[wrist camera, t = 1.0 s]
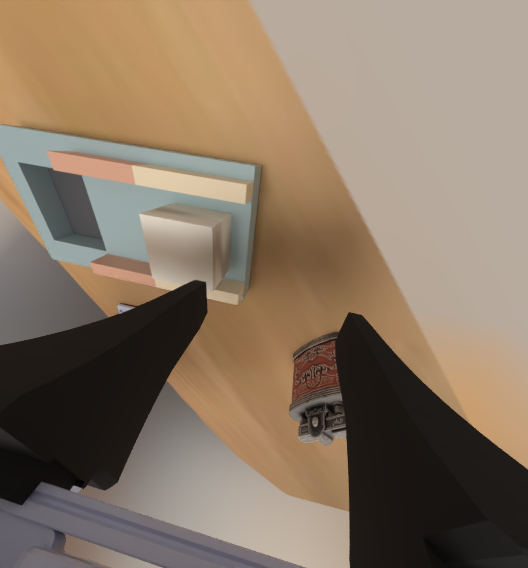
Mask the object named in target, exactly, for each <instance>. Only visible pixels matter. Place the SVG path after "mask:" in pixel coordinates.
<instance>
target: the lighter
mask: <svg viewBox="0 0 528 568" xmlns="http://www.w3.org/2000/svg"><path fill="white" fill-rule="evenodd" d="M338 334H339V332H333V333H330V334H327V335H324V336H321V337H319V338H317V339H314V340H312V341H310V342H309V343H307V344H305V345H304V346H302V347H301V348H299V349H298V350H297V351H296V352H295V353H294V354H293V363H294V374H293V390H292V403H291V404H290V410H289V415H290V417H291V418H292V419H294V420H296V421H298V422H300V426H299V437H298V438H299V439H300V440H301V441H303V442H306V443H308V442H313V441H319V442H321V443H322V444H324V445H330V444H331V443H332V442H333V438H334V437H337V438H342V437H346V424H345V414H344V407H343V401H342V395H341V389H340V384H339V378H338V372H337V366H336V356H335V340H336V338H337V336H338Z"/></svg>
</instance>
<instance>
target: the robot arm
mask: <svg viewBox="0 0 528 568" xmlns="http://www.w3.org/2000/svg"><path fill="white" fill-rule="evenodd" d="M117 308H118V311H119V314H117V315H115V316H112V317H109V318H106V319H103V320H100V321H97V322H93V323H90V324H87V325H83V326H80V327H77V328H73V329H70V330H66V331H62V332H58V333H54V334H50V335H46V336H42V337H38V338H34V339H29V340H24V341H20V342H15V343H10V344H5V345H0V568H110V567H108V566H105V565H103V564H100V563H98V562H95V561H92V560H89V559H86V558H82V557H79V556H75V555H72V554H68V553H65V551H64V545H65V542H66V537H65V534H68V535H71V536H73V537H76V538H79V539H82V540H85V541H88V542H91V543H94V544H97V545H100V546H102V547H105V548H108V549H111V550H114V551H117V552H120V553H122V554H125V555H128V556H131V557H134V558H137V559H140V560H143V561H146V562H148V563H151V564H154V565H157V566H160V567H163V568H305V567H302V566H299V565H296V564H293V563H290V562H287V561H284V560H280V559H277V558H274V557H271V556H268V555H265V554H262V553H259V552H256V551H252V550H250V549H247V548H244V547H241V546H237V545H234V544H231V543H228V542H225V541H222V540H219V539H216V538H213V537H210V536H207V535H204V534H201V533H198V532H195V531H192V530H188V529H185V528H182V527H179V526H176V525H173V524H170V523H167V522H164V521H161V520H158V519H154V518H152V517H149V516H146V515H143V514H139V513H136V512H133V511H130V510H127V509H124V508H121V507H118V506H115V505H112V504H108V503H105V502H103V501H100V500H97V499H93V498H90V497H87V496H84V495H81V494H78V492H79V491H80V490H81V488H83V489H84V488H85V487H86V486H87V485H89V486H92V487H95V488H98V489H101V490H107V489H109V488H110V487H112V486H113V485H115V484H116V483H117V482H118V480H119V478H120V475H121V473H122V471H123V469H124V466H125V464H126V462H127V459H128V457H129V455H130V453H131V451H132V449H133V446H134V444H135V442H136V440H137V438H138V436H139V434H140V432H141V429H142V427H143V425H144V423H145V421H146V419H147V417H148V415H149V413H150V411H151V409H152V407H153V405H154V403H155V401H156V399H157V397H158V395H159V393H160V391H161V389H162V388H163V386H164V384H165V382H166V380H167V378H168V377H169V375H170V373H171V371H172V370H173V368H174V366H175V365H176V363H177V362H178V360H179V359H180V357H181V356H182V354H183V353H184V351H185V350H186V348H187V347H188V345H189V344H190V342H191V341H192V339H193V338H194V336H195V335H196V333H197V332H198V330H199V329H200V327H201V325H202V323H203V321H204V319H205V316H206V314H207V288H206V282H204V281H199V280H193V281H191V282H189V283H187V284H184V285H182V286H180V287H178V288H176V289H174V290H172V291H170V292H168V293H166V294H164V295H162V296H160V297H158V298H156V299H154V300H151V301H149V302H147V303H145V304H142V305H140V306H138V307H132V306H128V305H123V304H119V305H118V306H117ZM335 356H336V366H337V372H338V378H339V384H340V389H341V395H342V401H343V407H344V414H345V424H346V438H347V454H348V475H349V513H350V514H349V515H350V557H349V559H350V560H349V561H350V568H528V469H526V468H525V467H524V466H523V465H521V464H520V463H519V462H517V461H516V460H515V459H513V458H512V457H511V456H509V455H508V454H507V453H505V452H504V451H503V450H502V449H500V448H499V447H498V446H496V445H495V444H494V443H492V442H491V441H490V440H489V439H488V438H486V437H485V436H483V434H481V433H480V432H479V431H477V430H476V429H475V428H474V427H473V426H472V425H470V424H469V423H468V422H467V421H466V420H464V419H463V418H462V417H461V416H460V415H458V414H457V413H456V412H455V411H454V410H453V409H451V408H450V407H449V406H448V405H447V404H446V403H445V402H444V401H442V400H441V399H440V398H439V397H438V396H437V395H436V394H435V393H434V392H433V391H432V390H431V389H429V388H428V387H427V386H426V385H425V384H424V383H423V382H422V381H421V380H420V379H419V378H418V377H417V376H416V375H415V374H414V373H413V372H412V371H411V370H410V369H409V368H408V367H407V366H406V365H405V364H404V363H403V361H402V360H401V359H400V358H399V357H398V356H397V355H396V354H395V353H394V352H393V351H392V349H391V348H390V347H389V346H388V345H387V344H386V343H385V341H384V340H383V339H382V338H381V337H380V336H379V334H378V333H377V332H376V331H375V330H374V328H373V327H372V326H371V325H370V324H369V323H368V321H367V320H366V319H365V318H364V317H363V316H362V315H359V314H355V313H350V312H349V313H348V315H347V317H346V319H345V321H344V323H343V325H342V328H341V330H340V332H339V334H338V336H337V338H336V340H335ZM63 533H65V534H63Z"/></svg>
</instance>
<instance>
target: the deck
mask: <svg viewBox="0 0 528 568" xmlns="http://www.w3.org/2000/svg"><path fill="white" fill-rule="evenodd" d="M0 156H1V158H2V160H3V162H4V164H5V166H6V168H7V170H8V172H9V174H10V176H11V178H12V180H13V182H14V184H15V186H16V188H17V190H18V192H19V194H20V196H21V198H22V200H23V202H24V204H25V206H26V208H27V210H28V212H29V214H30V216H31V218H32V220H33V222H34V224H35V226H36V228H37V230H38V232H39V234H40V236H41V238H42V240H43V242H44V244H45V246H46V248H47V250H48V252H49V254H50V256H51V258H52V259H55V260H59V261H64V262H68V263H73V264H77V265H82V266H86V267H91V268H92V269H93V272H94V273H95V274H99V275H104V276H108V277H113V278H117V279H122V280H126V281H131V282H135V283H140V284H144V285H149V286H153V287H158V288H162V289H167V290H171V291H172V290H174V289H176V288H178V287H180V286H182V285H180V284H175V283H171V282H166V281H161V280H157V279H153V278H152V274H151V269H150V264H149V259H148V254H147V249H146V245H145V240H144V235H143V230H142V225H141V221H140V216H139V214H140V213H143V212H146V211H149V210H152V209H155V208H159V207H162V206H165V205H168V204H171V203H177V204H183V205H188V206H194V207H199V208H205V209H210V210H216V211H221V212H227V213H232V231H231V255H230V269H229V270H228V272H227V273H226V274H225V276H224V277H223V279H222V280H221V281H220V283H219V284H218V286H217V287H216V288H215V290H214V291H213V292H212V291H207V299H212V300H216V301H221V302H225V303H230V304H234V305H238V304H239V302H240V300H241V301H243V299H244V297H245V295H246V293H247V291H248V288H249V281H250V272H251V262H252V253H253V244H254V234H255V225H256V216H257V206H258V197H259V187H260V178H261V169H262V165H257V164H251V163H245V162H239V161H232V160H226V159H220V158H214V157H207V156H201V155H195V154H189V153H183V152H176V151H170V150H164V149H158V148H151V147H145V146H139V145H133V144H127V143H120V142H114V141H108V140H102V139H95V138H89V137H83V136H77V135H71V134H64V133H58V132H52V131H46V130H39V129H33V128H27V127H20V126H12V125H4V124H0Z"/></svg>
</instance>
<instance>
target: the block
mask: <svg viewBox="0 0 528 568" xmlns="http://www.w3.org/2000/svg"><path fill="white" fill-rule="evenodd" d="M139 216H140V221H141V225H142V230H143V235H144V240H145V245H146V249H147V254H148V259H149V264H150V269H151V274H152V278H153V279H157V280H161V281H166V282H171V283H175V284H180V285H184V284H187V283H189V282H191V281H193V280H199V281H204V282H206V288H207V291H212V292H213V291H214V290H215V288H216V287H217V286H218V284H219V283H220V281H221V280H222V279H223V277H224V276H225V274H226V273H227V272H228V270H229V269H230V255H231V231H232V213H227V212H221V211H216V210H210V209H205V208H199V207H194V206H188V205H183V204H177V203H171V204H168V205H165V206H162V207H159V208H155V209H152V210H149V211H146V212H143V213H140V214H139Z"/></svg>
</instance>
